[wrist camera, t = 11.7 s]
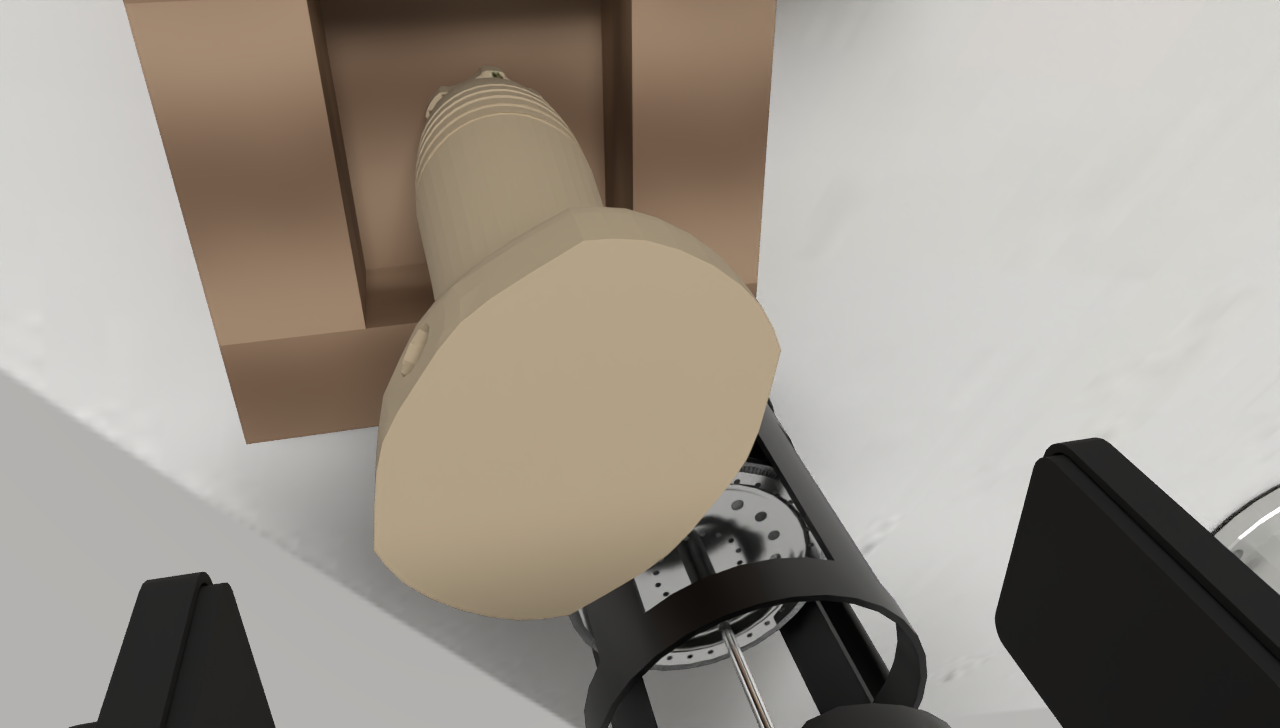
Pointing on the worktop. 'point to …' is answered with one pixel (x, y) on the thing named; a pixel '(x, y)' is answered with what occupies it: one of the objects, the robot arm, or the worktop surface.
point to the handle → (554, 372)
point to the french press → (758, 606)
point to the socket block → (387, 156)
